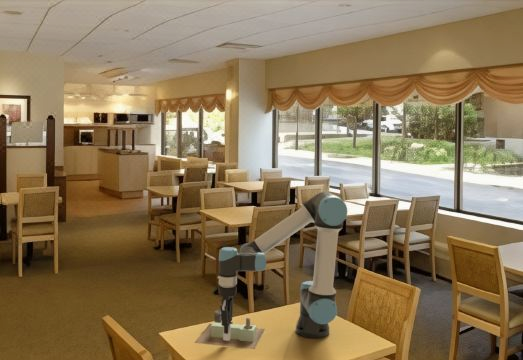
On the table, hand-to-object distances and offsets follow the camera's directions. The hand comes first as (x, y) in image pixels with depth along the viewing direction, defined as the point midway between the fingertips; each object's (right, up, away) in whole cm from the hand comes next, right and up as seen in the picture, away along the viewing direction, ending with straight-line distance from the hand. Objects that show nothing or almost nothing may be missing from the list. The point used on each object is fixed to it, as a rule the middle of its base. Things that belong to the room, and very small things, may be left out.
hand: (226, 339), depth 224 cm
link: (+2, -1, +8) cm, 9 cm away
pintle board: (+1, -2, +10) cm, 10 cm away
